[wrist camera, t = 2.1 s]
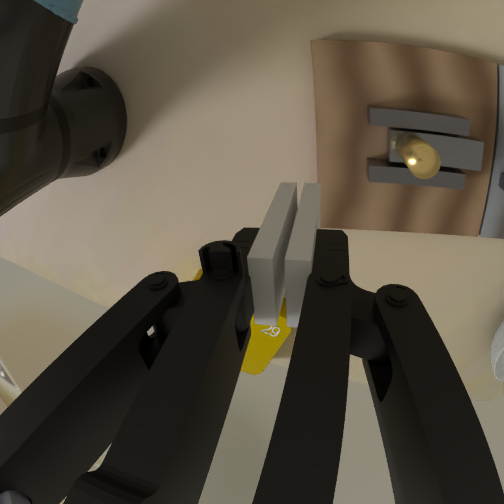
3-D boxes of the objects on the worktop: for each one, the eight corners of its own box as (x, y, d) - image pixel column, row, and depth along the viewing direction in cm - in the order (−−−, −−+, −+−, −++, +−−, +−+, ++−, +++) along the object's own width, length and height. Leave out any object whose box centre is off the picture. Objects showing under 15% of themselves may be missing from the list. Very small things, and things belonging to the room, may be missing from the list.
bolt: (386, 156, 28) (400, 178, 22) (387, 126, 27) (402, 141, 21) (473, 165, 26) (502, 189, 20) (476, 137, 24) (507, 156, 18)
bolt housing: (365, 172, 30) (370, 186, 27) (366, 105, 26) (371, 109, 23) (537, 192, 25) (554, 206, 21) (546, 135, 21) (565, 145, 18)
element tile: (183, 325, 53) (172, 345, 49) (201, 260, 44) (188, 280, 40) (263, 359, 52) (257, 381, 49) (300, 302, 44) (296, 326, 40)
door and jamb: (318, 219, 36) (317, 227, 35) (311, 42, 26) (310, 40, 24) (521, 233, 29) (527, 240, 28) (542, 81, 19) (551, 82, 17)
